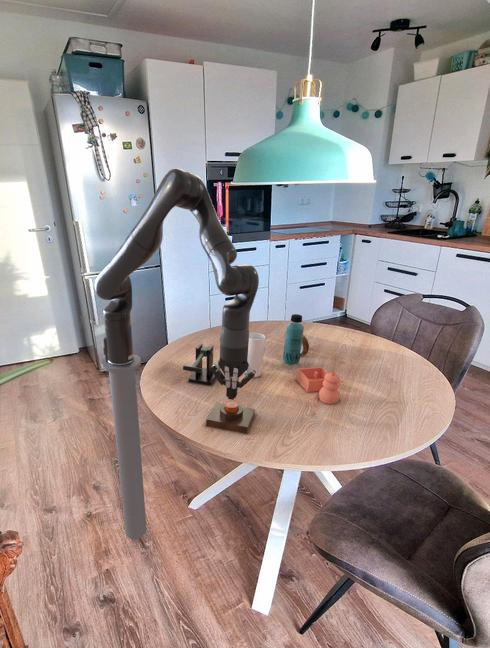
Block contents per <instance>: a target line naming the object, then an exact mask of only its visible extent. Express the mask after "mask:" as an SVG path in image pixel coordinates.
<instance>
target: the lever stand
mask: <svg viewBox="0 0 490 648" xmlns="http://www.w3.org/2000/svg"><path fill="white" fill-rule="evenodd" d="M203 345H204V344H203V343H198V345H197V346H196V347H195V361H196V360H197V358H198V357H199V355H200V350H201V348H202V347H203ZM208 347H209V348H208V349H207V357H206V367H203V359H202V360H201V361H200V363H199V364H198V366H197V367H196V368H202V372H201V373H199V372H193V373H192V374H191V376H189V378H188V383H193V384H199V385H204V386H211V385H213V384H214V381H216V379H217V378H216V377H215V376H214V374H213V373H212V371H211V370H210V368H211V367H212V365H213V364H214V344H213V345H212V344H210V346H208Z"/></svg>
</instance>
